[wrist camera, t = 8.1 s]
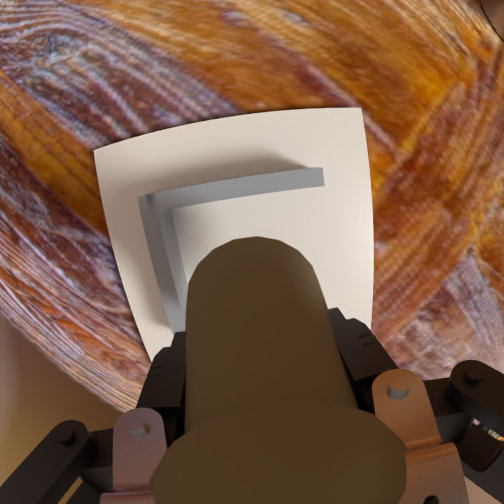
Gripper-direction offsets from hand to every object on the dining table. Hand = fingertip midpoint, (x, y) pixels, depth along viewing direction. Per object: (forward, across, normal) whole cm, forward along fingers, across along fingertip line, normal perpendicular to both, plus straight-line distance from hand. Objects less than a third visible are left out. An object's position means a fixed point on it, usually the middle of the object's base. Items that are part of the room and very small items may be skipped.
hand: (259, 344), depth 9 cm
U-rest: (+11, 0, 0) cm, 11 cm away
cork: (+3, 0, 0) cm, 3 cm away
